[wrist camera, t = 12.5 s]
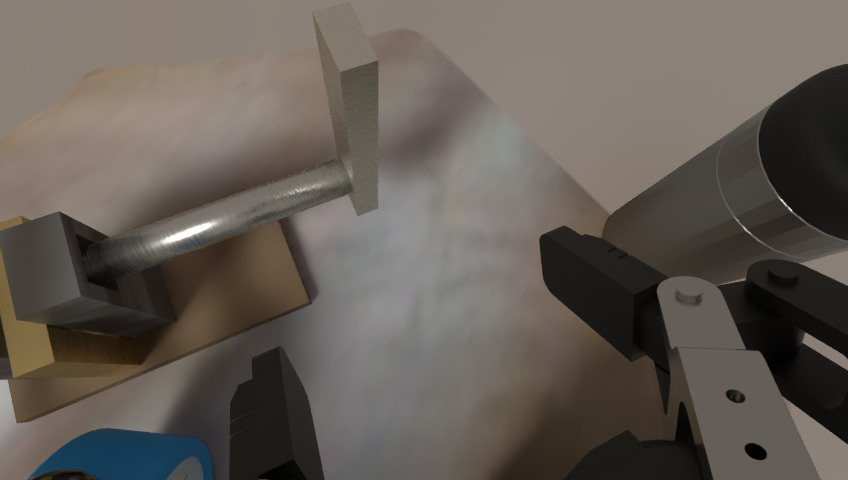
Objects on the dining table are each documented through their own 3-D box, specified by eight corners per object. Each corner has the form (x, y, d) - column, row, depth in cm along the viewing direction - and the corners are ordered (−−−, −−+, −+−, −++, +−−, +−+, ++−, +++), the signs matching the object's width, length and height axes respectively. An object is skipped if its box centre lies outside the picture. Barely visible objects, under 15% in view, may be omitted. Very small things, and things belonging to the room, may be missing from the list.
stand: (270, 198, 38) (221, 118, 26) (311, 303, 36) (278, 268, 24) (2, 294, 33) (-204, 250, 22) (30, 421, 31) (-184, 450, 19)
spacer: (110, 255, 34) (20, 215, 25) (141, 365, 32) (54, 362, 23) (83, 265, 34) (-18, 228, 25) (112, 377, 31) (13, 378, 23)
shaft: (362, 173, 33) (349, 2, 18) (378, 208, 32) (378, 60, 17) (114, 264, 29) (-174, 143, 14) (125, 304, 28) (-163, 225, 13)
